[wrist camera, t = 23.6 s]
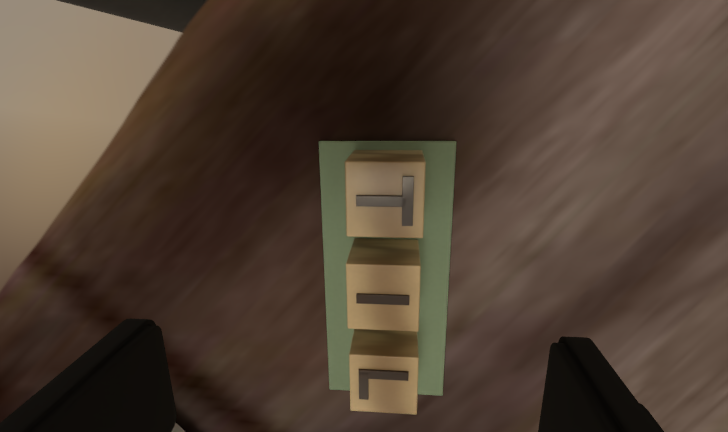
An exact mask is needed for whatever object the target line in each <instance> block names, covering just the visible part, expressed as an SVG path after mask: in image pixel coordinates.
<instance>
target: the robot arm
mask: <svg viewBox="0 0 728 432" xmlns="http://www.w3.org/2000/svg"><path fill="white" fill-rule="evenodd" d="M176 416H177V415H176V408H175V402H174V397H173V391H172V386H171V380H170V375H169V369H168V364H167V358H166V353H165V347H164V341H163V336H162V331H161V328H160V327H159V326H156V324H155V323H154V321H152V320H148V319H126V320H125V321H123V322H122V323H120V324H119V325H118V326H117V327H116V328H114V329H113V330H112V331H111V332H110V333H108V334H107V335H106V336H105V337H104V338H102V339H101V340H100V341H99V342H98V343H96V344H95V345H94V346H93V347H92V348H90V349H89V350H88V351H87V352H85V353H84V354H83V355H82V356H81V357H79V358H78V359H77V360H76V361H75V362H73V363H72V364H71V365H70V366H69V367H67V368H66V369H65V370H64V371H63V372H61V373H60V374H59V375H58V376H56V377H55V378H54V379H53V380H52V381H50V382H49V383H48V384H47V385H46V386H44V387H43V388H42V389H41V390H40V391H38V392H37V393H36V394H35V395H34V396H32V397H31V398H30V399H29V400H27V401H26V402H25V403H24V404H23V405H21V406H20V407H19V408H18V409H17V410H15V411H14V412H13V413H12V414H11V415H9V416H8V417H7V418H6V419H5V420H3V421H2V422H1V423H0V432H172V430H173V428H174V426H175V422H176ZM538 432H664V431H663V430H662V428H661V427H660V426H659V424H658V423H657V422H656V420H655V419H654V418H653V417H652V415H651V414H650V413H649V411H648V410H647V409H646V408H645V407H644V406H643V405H642V404H640V403H638V401H637V400H636V399H635V397H634V396H633V395H632V393H631V392H630V391H629V389H628V388H627V387H626V385H625V384H624V383H623V381H622V380H621V379H620V377H619V376H618V375H617V373H616V372H615V371H614V369H613V368H612V367H611V365H610V364H609V363H608V361H607V360H606V359H605V357H604V356H603V355H602V353H601V352H600V351H599V349H598V348H597V347H596V345H595V344H594V343H593V341H592V340H591V339H590V338H583V337H561V338H560V339H559V342H558V343H552V345H551V347H550V353H549V360H548V367H547V374H546V381H545V388H544V395H543V402H542V409H541V416H540V423H539V430H538Z"/></svg>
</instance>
